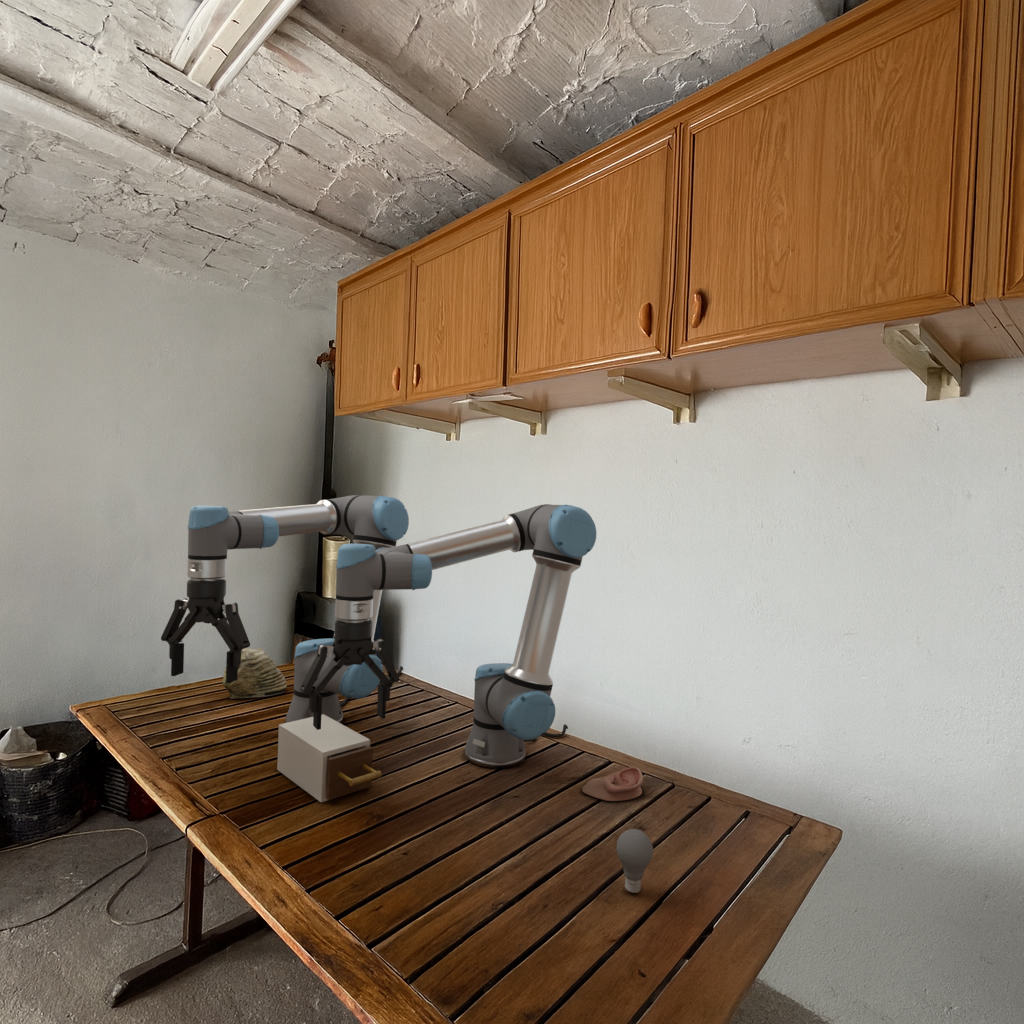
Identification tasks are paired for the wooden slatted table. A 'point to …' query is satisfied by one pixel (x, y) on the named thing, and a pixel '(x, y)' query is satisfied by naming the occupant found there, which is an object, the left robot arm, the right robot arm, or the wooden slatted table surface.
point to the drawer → (349, 772)
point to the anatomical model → (616, 785)
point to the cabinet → (313, 751)
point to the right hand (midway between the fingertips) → (349, 721)
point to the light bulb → (634, 857)
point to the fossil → (256, 676)
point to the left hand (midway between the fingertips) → (204, 678)
